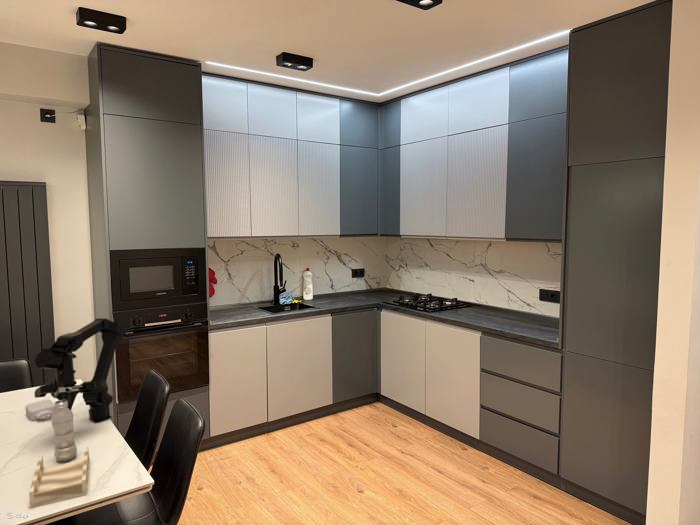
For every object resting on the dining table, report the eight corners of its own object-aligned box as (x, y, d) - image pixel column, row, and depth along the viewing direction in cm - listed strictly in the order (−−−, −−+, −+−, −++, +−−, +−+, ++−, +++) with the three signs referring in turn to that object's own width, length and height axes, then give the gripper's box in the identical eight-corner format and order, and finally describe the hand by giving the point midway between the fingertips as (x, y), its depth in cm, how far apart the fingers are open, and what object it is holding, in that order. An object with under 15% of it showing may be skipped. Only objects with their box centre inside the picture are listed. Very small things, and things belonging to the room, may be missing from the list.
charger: (33, 426, 195) (26, 415, 206) (60, 419, 201) (51, 409, 212) (32, 414, 195) (25, 404, 206) (59, 408, 201) (50, 398, 212)
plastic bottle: (82, 455, 170) (77, 398, 168) (64, 465, 163) (59, 406, 161) (67, 453, 172) (62, 397, 170) (50, 462, 166) (44, 404, 164)
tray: (40, 470, 161) (39, 457, 160) (89, 460, 167) (88, 447, 166) (30, 507, 140) (29, 492, 140) (86, 494, 146) (85, 479, 146)
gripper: (81, 374, 193) (85, 415, 188) (26, 378, 178) (29, 423, 173) (94, 365, 187) (99, 407, 182) (39, 369, 172) (43, 414, 167)
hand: (68, 413), depth 176 cm, fingers closed
